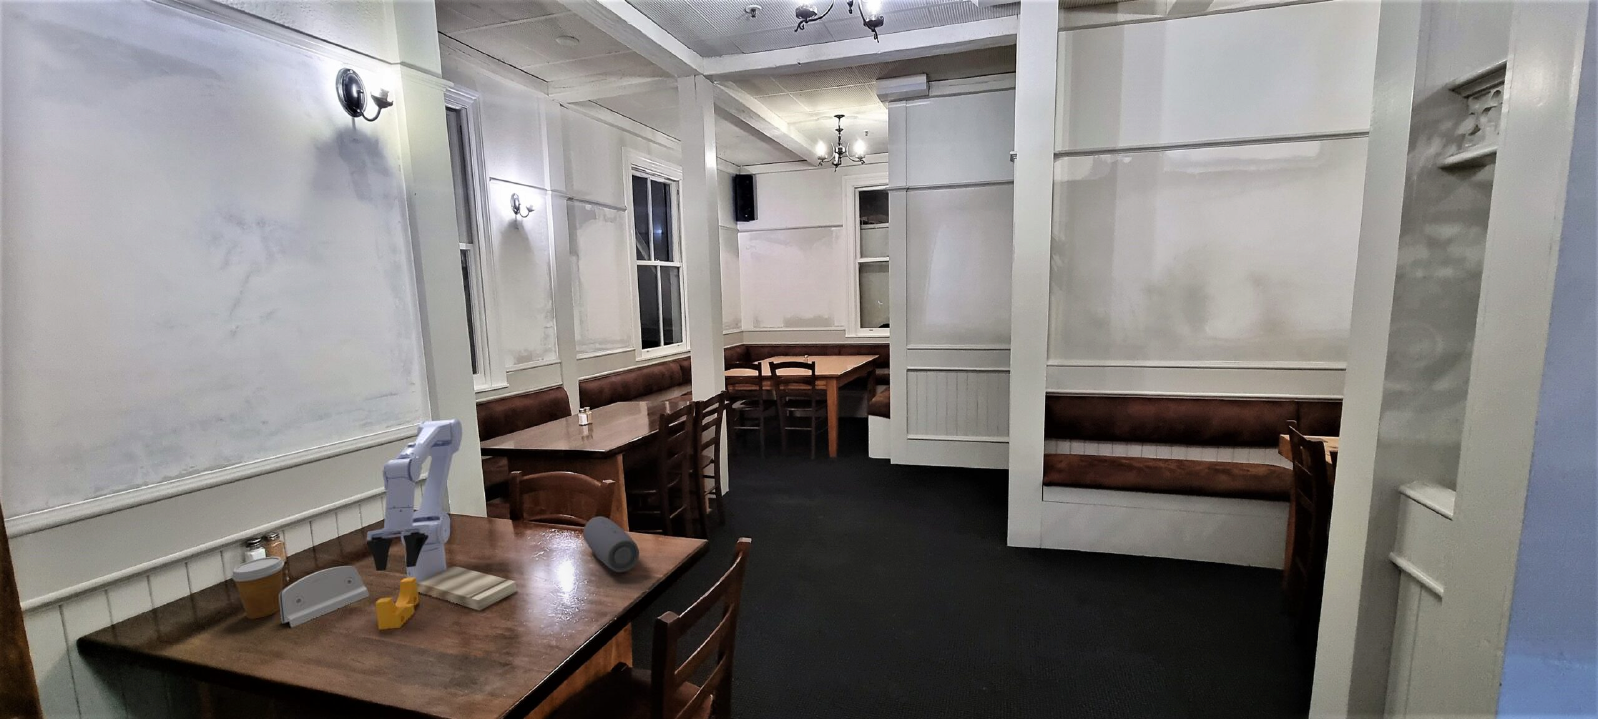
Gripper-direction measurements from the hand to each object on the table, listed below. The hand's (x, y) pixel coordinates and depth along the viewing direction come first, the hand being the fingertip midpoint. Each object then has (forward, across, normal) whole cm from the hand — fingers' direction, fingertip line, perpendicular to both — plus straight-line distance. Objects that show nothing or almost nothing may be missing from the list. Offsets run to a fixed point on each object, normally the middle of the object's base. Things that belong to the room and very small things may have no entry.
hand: (396, 568), depth 143 cm
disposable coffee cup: (+6, -36, +3) cm, 37 cm away
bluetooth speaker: (+4, +39, +30) cm, 49 cm away
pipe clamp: (+11, 0, +3) cm, 11 cm away
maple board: (+7, +9, +13) cm, 17 cm away
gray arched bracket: (+7, -22, +5) cm, 24 cm away
